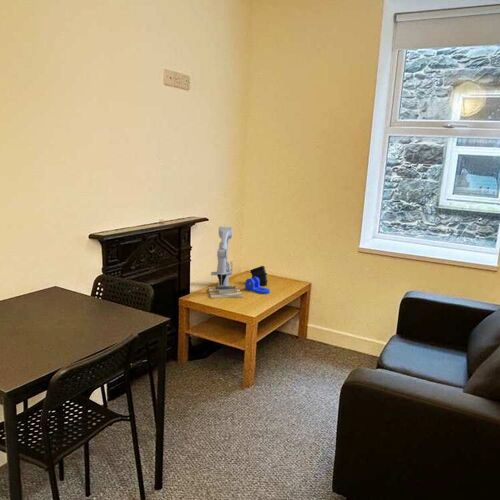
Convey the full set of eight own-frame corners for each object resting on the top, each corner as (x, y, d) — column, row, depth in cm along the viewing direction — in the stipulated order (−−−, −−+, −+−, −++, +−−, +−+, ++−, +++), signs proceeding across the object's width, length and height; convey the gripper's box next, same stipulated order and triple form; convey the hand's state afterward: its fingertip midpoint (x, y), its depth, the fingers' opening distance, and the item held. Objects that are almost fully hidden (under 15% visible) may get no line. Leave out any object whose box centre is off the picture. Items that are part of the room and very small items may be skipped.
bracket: (245, 289, 325) (245, 277, 323) (251, 287, 332) (252, 275, 330) (265, 295, 315) (266, 283, 313) (271, 292, 321) (272, 280, 319)
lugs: (212, 290, 316) (212, 285, 315) (235, 290, 319) (235, 285, 318) (213, 293, 310) (213, 288, 309) (236, 292, 313) (237, 288, 312)
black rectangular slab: (269, 284, 333) (262, 266, 333) (254, 289, 339) (247, 271, 338) (271, 283, 336) (264, 265, 336) (256, 288, 342) (249, 270, 342)
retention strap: (215, 288, 314) (215, 286, 314) (235, 288, 317) (235, 286, 317) (215, 289, 311) (215, 287, 310) (236, 289, 313) (236, 287, 313)
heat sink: (217, 289, 318) (217, 285, 317) (231, 289, 320) (231, 285, 319) (219, 294, 308) (219, 290, 308) (233, 293, 310) (233, 289, 310)
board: (208, 289, 322) (208, 287, 322) (238, 288, 326) (238, 287, 326) (211, 298, 303) (211, 296, 303) (242, 297, 307) (243, 296, 307)
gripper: (212, 267, 304) (211, 286, 307) (232, 267, 307) (232, 286, 310) (211, 265, 311) (210, 283, 314) (231, 265, 314) (230, 283, 317)
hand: (221, 284), depth 313 cm, fingers closed
